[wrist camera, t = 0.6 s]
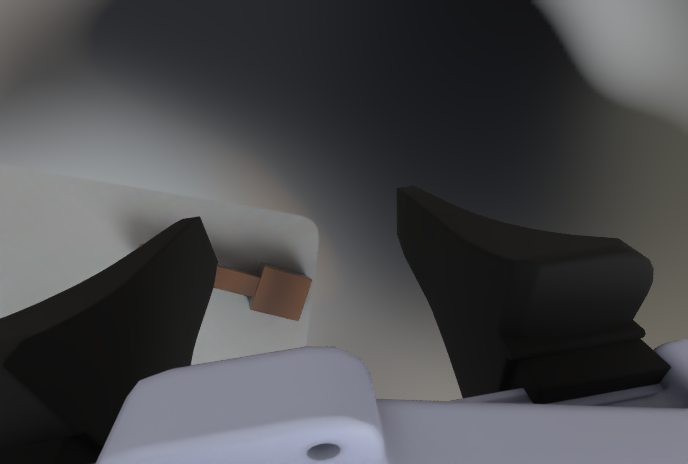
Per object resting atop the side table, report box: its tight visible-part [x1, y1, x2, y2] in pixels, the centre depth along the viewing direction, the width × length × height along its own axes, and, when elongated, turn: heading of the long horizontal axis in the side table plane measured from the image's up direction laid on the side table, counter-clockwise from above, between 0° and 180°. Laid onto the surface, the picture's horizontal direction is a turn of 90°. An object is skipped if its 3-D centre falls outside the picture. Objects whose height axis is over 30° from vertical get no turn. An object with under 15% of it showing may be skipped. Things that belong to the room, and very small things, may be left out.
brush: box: [139, 244, 312, 321], centre depth 32 cm, size 16×4×3 cm, turn 71°
